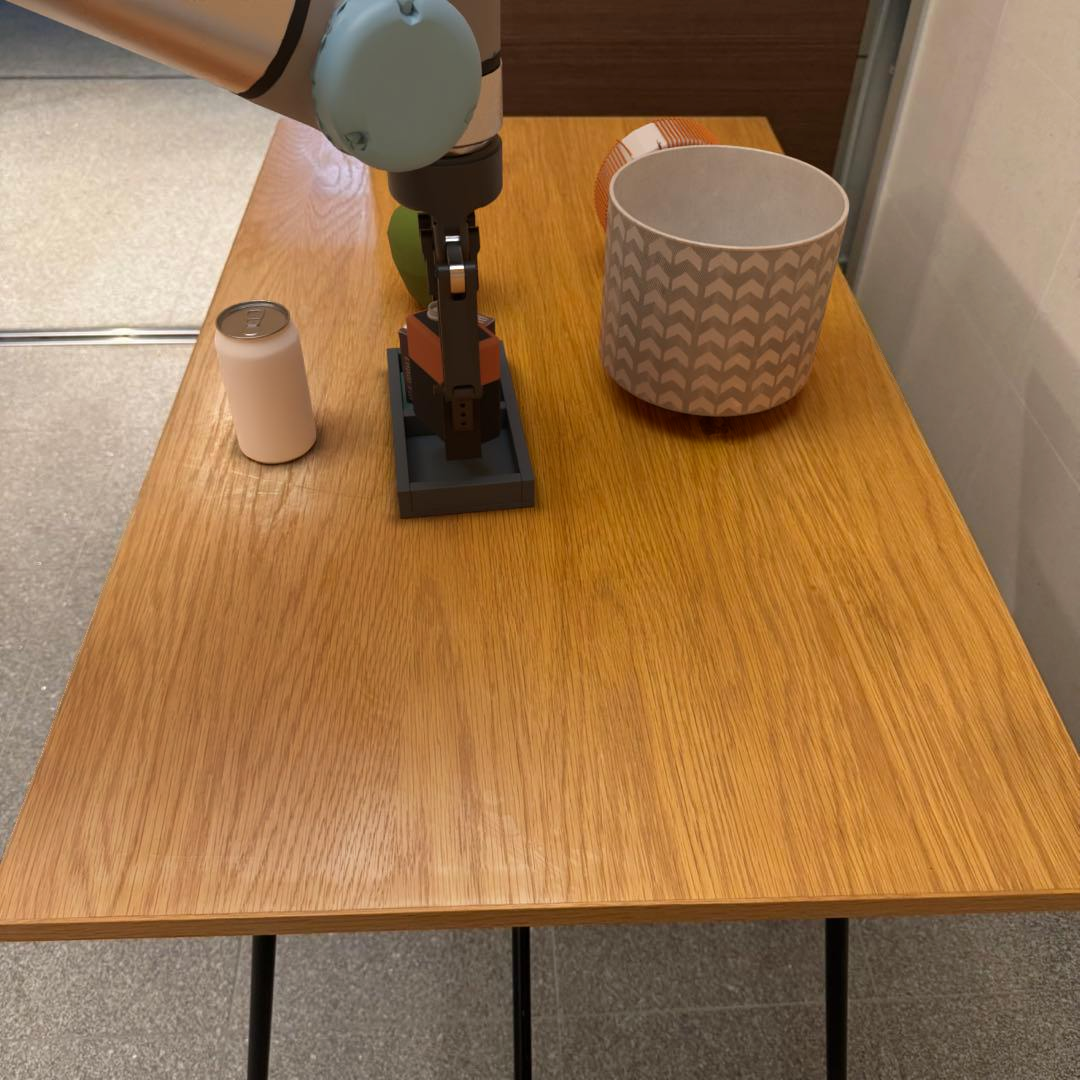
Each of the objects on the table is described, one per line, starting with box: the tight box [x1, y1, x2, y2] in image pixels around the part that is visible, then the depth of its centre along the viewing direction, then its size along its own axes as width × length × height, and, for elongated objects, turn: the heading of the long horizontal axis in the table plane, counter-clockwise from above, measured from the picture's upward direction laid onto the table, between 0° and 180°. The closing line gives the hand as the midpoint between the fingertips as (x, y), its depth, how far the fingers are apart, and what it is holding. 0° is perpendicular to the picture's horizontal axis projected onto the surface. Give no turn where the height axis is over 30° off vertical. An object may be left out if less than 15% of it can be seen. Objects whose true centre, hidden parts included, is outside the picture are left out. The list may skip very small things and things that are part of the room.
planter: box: [598, 144, 850, 417], centre depth 86 cm, size 19×19×18 cm
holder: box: [386, 339, 536, 519], centre depth 85 cm, size 11×20×3 cm, turn 9°
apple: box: [386, 204, 432, 310], centre depth 98 cm, size 9×8×12 cm
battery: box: [405, 301, 501, 444], centre depth 76 cm, size 4×7×10 cm, turn 36°
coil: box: [593, 116, 723, 234], centre depth 103 cm, size 7×15×15 cm, turn 100°
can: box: [213, 299, 317, 465], centre depth 81 cm, size 6×6×12 cm
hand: (458, 423), depth 79 cm, fingers closed on battery, 8 cm apart
